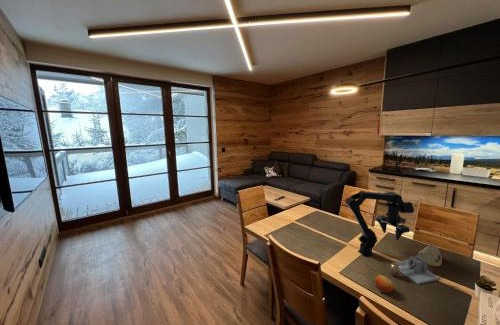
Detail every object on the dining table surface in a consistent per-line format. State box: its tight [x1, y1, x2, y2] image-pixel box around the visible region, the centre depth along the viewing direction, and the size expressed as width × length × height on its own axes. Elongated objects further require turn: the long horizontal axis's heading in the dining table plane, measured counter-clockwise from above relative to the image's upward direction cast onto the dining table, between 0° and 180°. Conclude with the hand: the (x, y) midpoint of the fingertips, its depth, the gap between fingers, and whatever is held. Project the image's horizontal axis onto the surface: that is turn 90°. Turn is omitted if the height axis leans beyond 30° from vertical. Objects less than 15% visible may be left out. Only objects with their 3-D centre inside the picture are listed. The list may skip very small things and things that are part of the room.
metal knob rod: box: [389, 262, 416, 277], centre depth 114 cm, size 18×4×5 cm, turn 103°
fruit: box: [374, 274, 395, 294], centre depth 103 cm, size 8×8×8 cm
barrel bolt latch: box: [394, 254, 441, 285], centre depth 115 cm, size 14×16×8 cm
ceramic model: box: [417, 243, 443, 267], centre depth 125 cm, size 14×11×10 cm
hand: (390, 236), depth 131 cm, fingers open, 9 cm apart
